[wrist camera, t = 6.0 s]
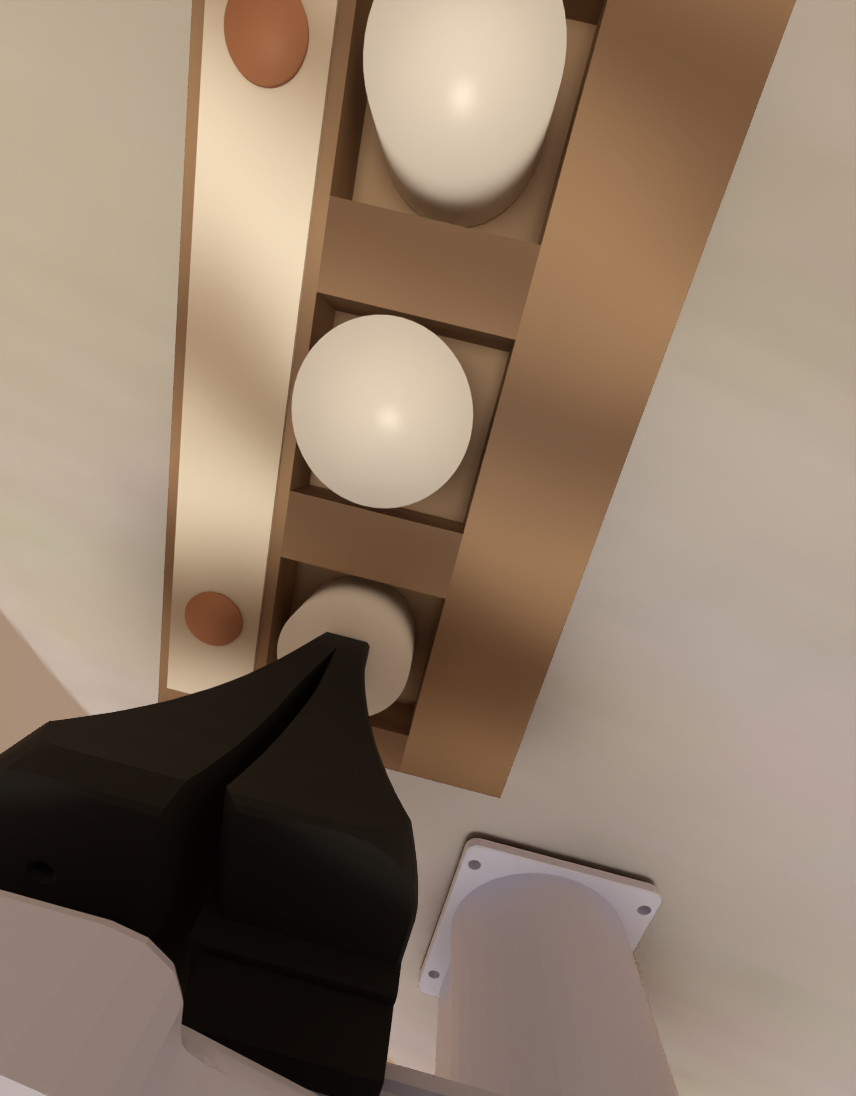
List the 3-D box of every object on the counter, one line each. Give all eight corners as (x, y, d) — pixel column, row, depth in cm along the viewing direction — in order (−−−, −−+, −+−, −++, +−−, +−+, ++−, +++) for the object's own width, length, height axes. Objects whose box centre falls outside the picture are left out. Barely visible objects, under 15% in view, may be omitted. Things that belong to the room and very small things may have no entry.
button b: (403, 692, 14) (394, 732, 12) (295, 664, 14) (269, 699, 12) (429, 592, 13) (423, 618, 11) (312, 562, 13) (286, 583, 11)
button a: (518, 243, 10) (530, 199, 8) (368, 208, 10) (347, 156, 8) (569, 45, 9) (596, -59, 7) (401, 7, 9) (384, -104, 7)
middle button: (450, 511, 11) (447, 526, 9) (311, 476, 11) (280, 484, 9) (489, 358, 10) (495, 340, 8) (335, 320, 10) (305, 294, 8)
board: (495, 752, 15) (500, 803, 13) (195, 674, 16) (153, 711, 13) (762, -5, 9) (851, -138, 7) (258, -116, 9) (197, -277, 7)
